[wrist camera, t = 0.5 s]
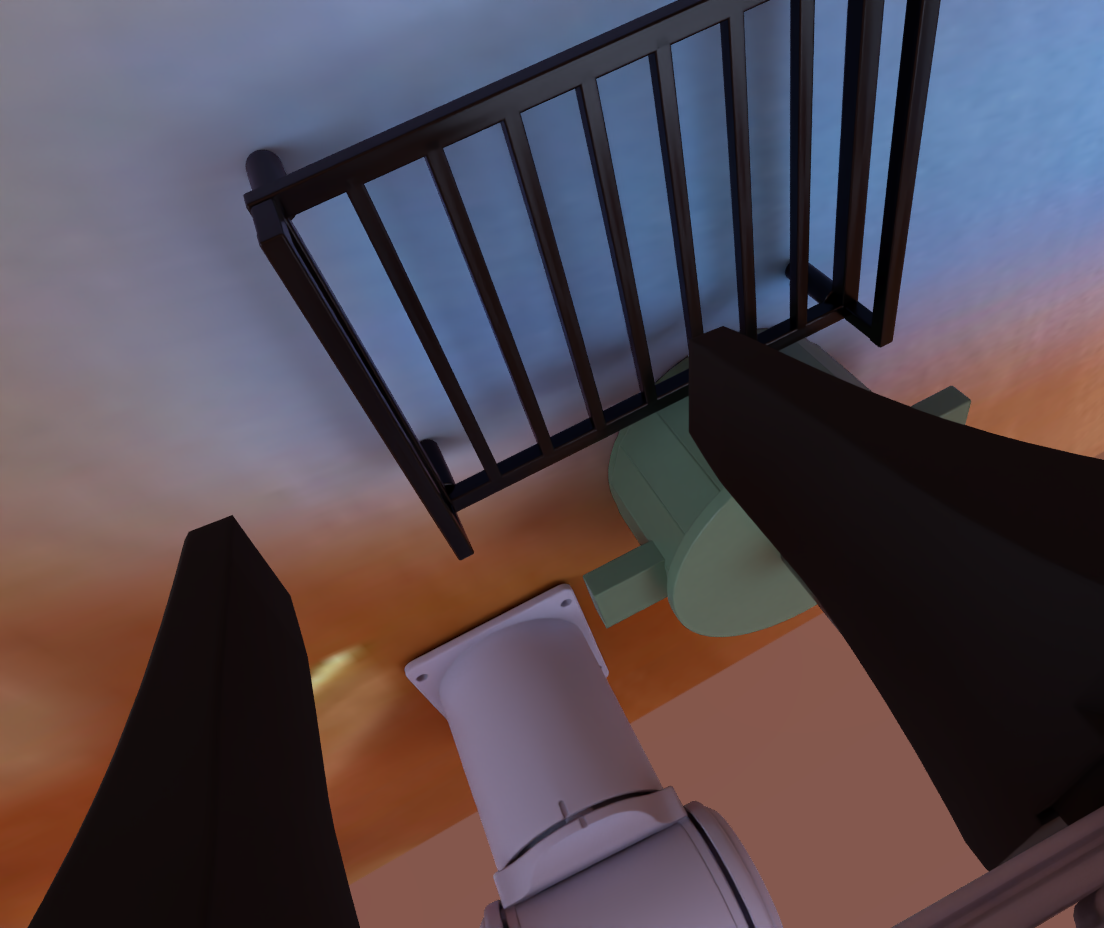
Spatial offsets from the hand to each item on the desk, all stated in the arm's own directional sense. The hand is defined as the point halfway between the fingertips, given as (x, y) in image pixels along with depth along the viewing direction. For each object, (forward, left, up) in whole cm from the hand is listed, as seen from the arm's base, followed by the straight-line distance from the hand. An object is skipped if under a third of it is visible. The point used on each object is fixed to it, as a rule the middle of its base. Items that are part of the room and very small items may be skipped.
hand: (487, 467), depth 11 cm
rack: (-3, -6, -10) cm, 12 cm away
